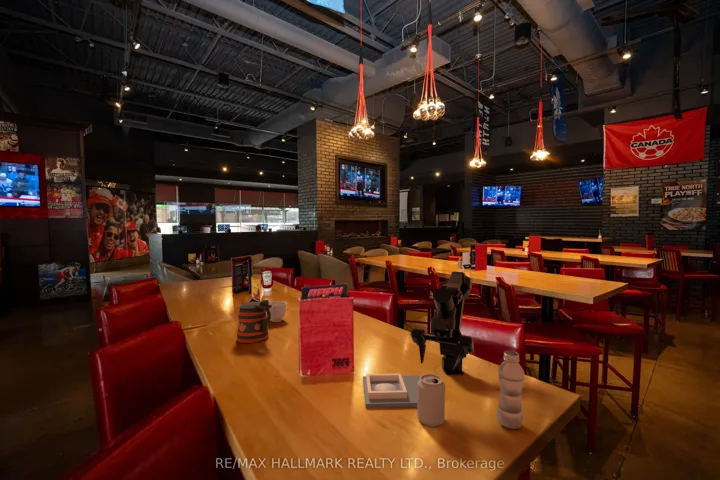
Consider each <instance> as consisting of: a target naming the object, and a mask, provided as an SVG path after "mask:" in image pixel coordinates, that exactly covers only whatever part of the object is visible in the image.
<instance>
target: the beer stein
mask: <svg viewBox="0 0 720 480" xmlns="http://www.w3.org/2000/svg"><path fill="white" fill-rule="evenodd" d="M269 302H270V301H269V299H263V300H261V301H249V302H242V301H241V304H240V305H239V306H238V309H239V311H238V318H237V321H238V325H237V330H236V341H237V342H238V343H240V344H253V343H259V342H262V341H265V340H267V339H268V338H269V336H270V334H269V325H270V323H271V320H272V319H271V313H270V310H269V308H272V305H269Z"/></svg>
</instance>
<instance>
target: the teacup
mask: <svg viewBox="0 0 720 480" xmlns="http://www.w3.org/2000/svg"><path fill="white" fill-rule="evenodd" d="M269 305H272V308H269V310H270V313H271V319H270V320H271V322H273V323H280V322H282V321H283V318H284V317H285V315H286V309H287V305H288V302H287V301H285V300H274V301H273V300H271V301H269Z"/></svg>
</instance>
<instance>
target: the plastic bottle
mask: <svg viewBox="0 0 720 480" xmlns="http://www.w3.org/2000/svg"><path fill="white" fill-rule="evenodd" d="M503 360H504V361H502V363H501V364H500V365H499V366H498V369H497V374H498V382H499V383H498V384H499V396H498V403H497V404H498V405H497V408H496V414H495V415H496V419H497V421H498V422H499V424H500V425H501V426H502V427H504V428H506V429H509V430H511V429H512V430H516V429H517V430H518V429H520V428H521V427H522V426H523V421H524V414H523V408H522V394H523V387H524V383H525V382H524V381H525V375H526V374H525V371H524V369H523V368H522V366H521V365H520V354H519V353H518V352H516V351H512V350H506V351H504V352H503Z"/></svg>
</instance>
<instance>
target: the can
mask: <svg viewBox="0 0 720 480" xmlns="http://www.w3.org/2000/svg"><path fill="white" fill-rule="evenodd" d="M419 377H420V380H419V381H418V397H417V407H416V408H417V413H416V414H417V415H416V416H417V419H418V420H419V421H420V422H421V423H422V424H424V425H425V426H427V427H439V426H440V425H442V424H443V423H444V422H445V418H446V417H445V415H446V414H445V413H446V410H445V409H446V408H445V407H446V384H445V382H443V381H444V380H443V378H442V377H441V376H440V375H437V374H433V373H425V374H422V375H421V376H419Z"/></svg>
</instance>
